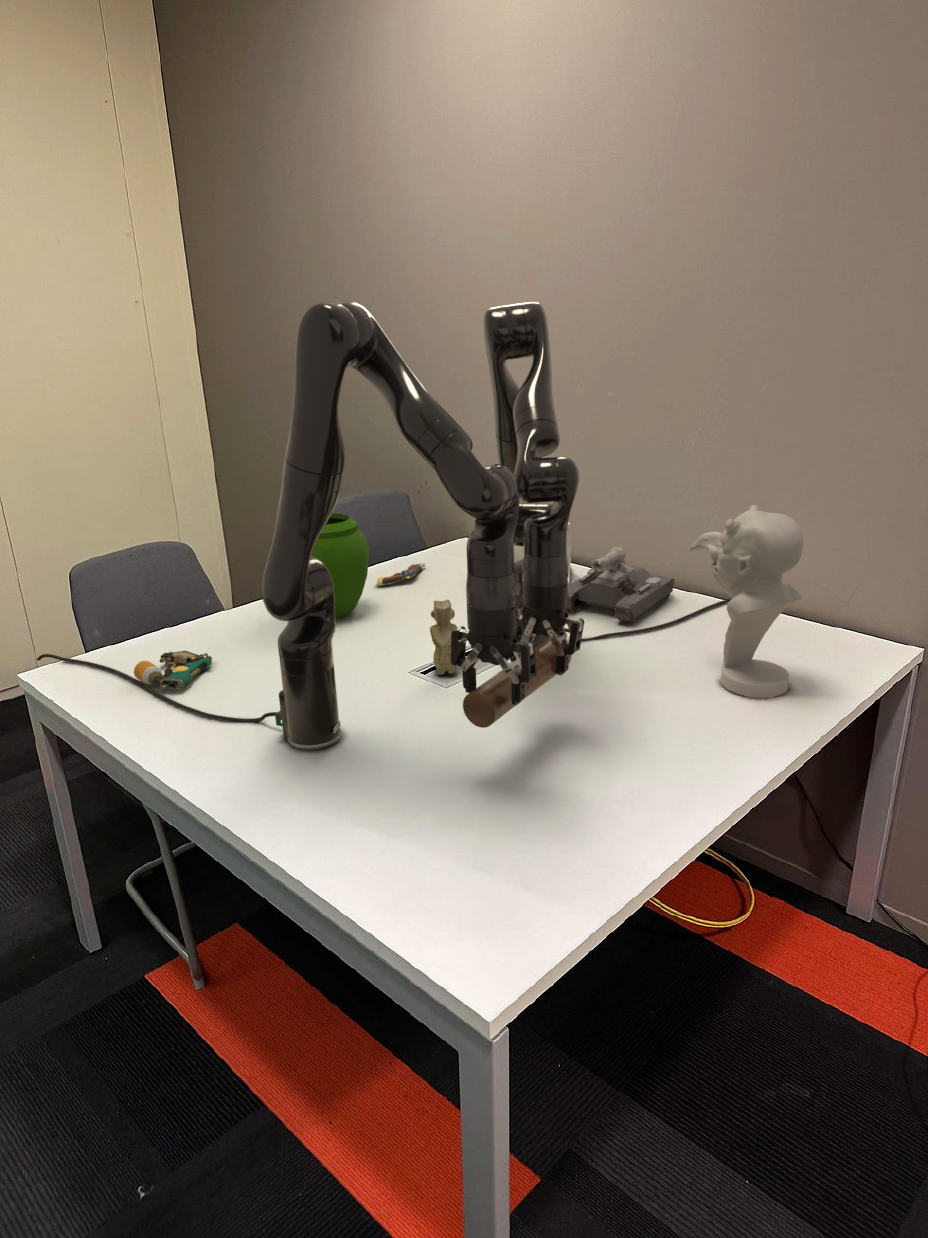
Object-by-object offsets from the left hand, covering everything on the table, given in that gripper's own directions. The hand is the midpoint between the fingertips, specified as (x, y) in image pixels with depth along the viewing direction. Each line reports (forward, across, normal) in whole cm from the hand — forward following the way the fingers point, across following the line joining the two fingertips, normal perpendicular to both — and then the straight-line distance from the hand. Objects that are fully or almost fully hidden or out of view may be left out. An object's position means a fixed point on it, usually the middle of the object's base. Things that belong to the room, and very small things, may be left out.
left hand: (493, 697), depth 134 cm
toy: (+14, -17, +85) cm, 88 cm away
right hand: (+2, 0, +17) cm, 17 cm away
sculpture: (+14, -31, +31) cm, 46 cm away
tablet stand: (+14, -49, +96) cm, 108 cm away
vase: (+14, -75, +45) cm, 89 cm away
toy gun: (+14, -79, +77) cm, 111 cm away
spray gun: (+14, -79, 0) cm, 80 cm away
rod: (+3, 0, +9) cm, 9 cm away
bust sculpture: (+15, +22, +56) cm, 62 cm away
